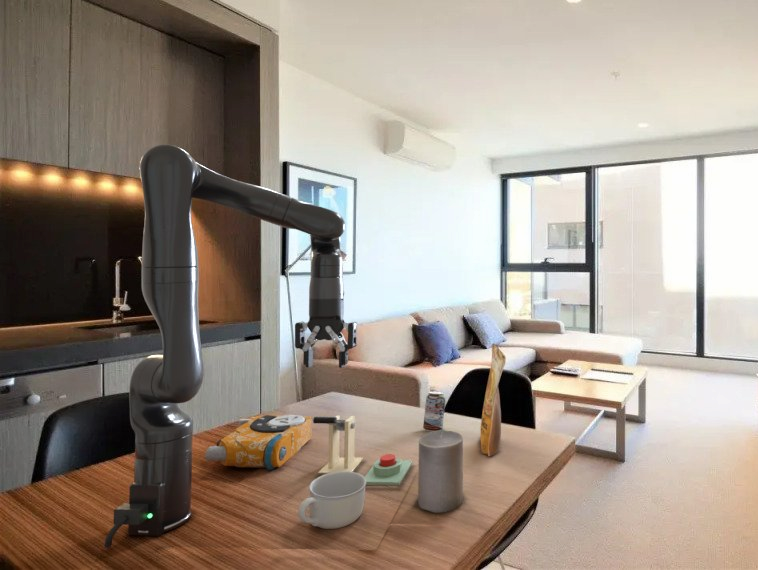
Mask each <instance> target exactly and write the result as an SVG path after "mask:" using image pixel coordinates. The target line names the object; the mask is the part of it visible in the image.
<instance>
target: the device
mask: <svg viewBox="0 0 758 570" xmlns="http://www.w3.org/2000/svg"><path fill="white" fill-rule="evenodd" d="M312 420H313V419H312V417H311V416H308V415H301V414H285V415H284V414H283V415H282V414H281V415H280V414H275V415H274V414H273V415H272V414H271V415H269V414H266V415H263V414H262V415H261V414H259V415H257V416H249V417H247V418H240V419H239V420H238V427H237V428H234V430H233V431H232V432H230V433H228V434H227V435H225V436H224V437H222V438H220V439H218V441H217V442H216V445H210V446H209V447H208V448H207V449H206V451H205V453H204V459H205V461H208V462H220V463H221V464H222V465H223V467H236V468H263V469H265V468H266V470H269V471H272V470H275V468H280V467H282V466H283V465H284V464H285V463H286V462H287V461H288V460H289V459H291V458H292V457H294V455H295V454H297V453H298V452H299V451H300V450H301V448H302V447H303V446H305V444H306V443H308V442H309V441H310V440H311V439H312Z"/></svg>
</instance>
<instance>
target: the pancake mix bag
mask: <svg viewBox="0 0 758 570" xmlns="http://www.w3.org/2000/svg"><path fill="white" fill-rule="evenodd" d="M506 359H507V357H506V355H505V354H504V353H503V351H501V349H500V348H499V347H498V345H496V344H495V343H492V344H491V361H490V368H489V373H488V374H489V375H488V379H487V384H486V389H485V394H484V401H483V406H482V414H481V419H480V433H479V435H480V449H481V453H482V454H483V455H487V456H488V457H492V456H494V455H497V454H498V453H499V450H500V449H499V448H500V444H501V437H502V410H501V398H500V390H499V383H500V380H501V376H502V373H503V371H504V368H505V365H506V362H507V361H506Z"/></svg>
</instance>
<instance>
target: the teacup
mask: <svg viewBox="0 0 758 570" xmlns="http://www.w3.org/2000/svg"><path fill="white" fill-rule="evenodd" d="M366 486H367V485H366V479H365V476H364V475H363V474H362V473H359V472H354V471H352V472H349V471H341V472H333V473H324V474H323V475H320V476H317V478H315V479H314V480H312V481H311V482H310V483H309V486H308V490H309V497H307V498H305V499H304V500H302V502H301V503H300V505H299V507H298V512H297V515H298V518H299V520H301V521H302V522H303V523H306V524H311V526H313V527H318V528H320V529H325V530H336V529H341V528H344V527H346V526H349V525H352V524H353V523H354V522H355V521H357V519H359V517H360V516H361V515H362V513H363V511H364V507H365V499H366V498H365V497H366ZM307 509H308V515H309V516H307V515H306V513H307Z"/></svg>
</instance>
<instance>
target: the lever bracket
mask: <svg viewBox="0 0 758 570" xmlns="http://www.w3.org/2000/svg"><path fill="white" fill-rule="evenodd" d="M334 417H337V420H341V416H340V415H335V416H334ZM345 420H346V421H345V431H344V443H343V454H344V455H343V456H340V435H341V434H340V433H341V431H337V430H335V427H336V426H333V425H330V424H328V451H327V452H328V457H327V459H328V460H327V461H328V462H327V463H326V464H325V465H324V466H323V467H322V468H321V469H319V471H318V472H317V473H318V474H329V473H333V472H341V471H349V472H354V471H355V469H356V468H357V467H358V466H359V464H360V463H361V462H362V461H363V460H364V457H357V456H356V455H355V454H356V453H355V452H356V415H350V416H349V417H348V418H347V419H345Z"/></svg>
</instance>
